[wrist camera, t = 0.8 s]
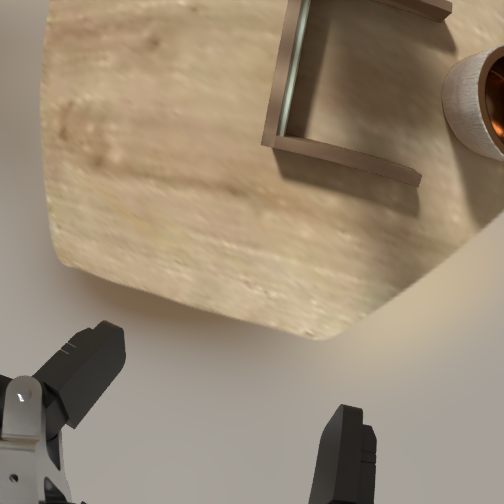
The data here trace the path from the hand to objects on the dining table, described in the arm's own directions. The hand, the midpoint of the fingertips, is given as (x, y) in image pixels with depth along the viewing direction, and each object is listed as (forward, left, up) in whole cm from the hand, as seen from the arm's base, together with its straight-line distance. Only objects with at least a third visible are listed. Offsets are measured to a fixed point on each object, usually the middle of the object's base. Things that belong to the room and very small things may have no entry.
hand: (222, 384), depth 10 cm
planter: (-16, +17, -27) cm, 35 cm away
